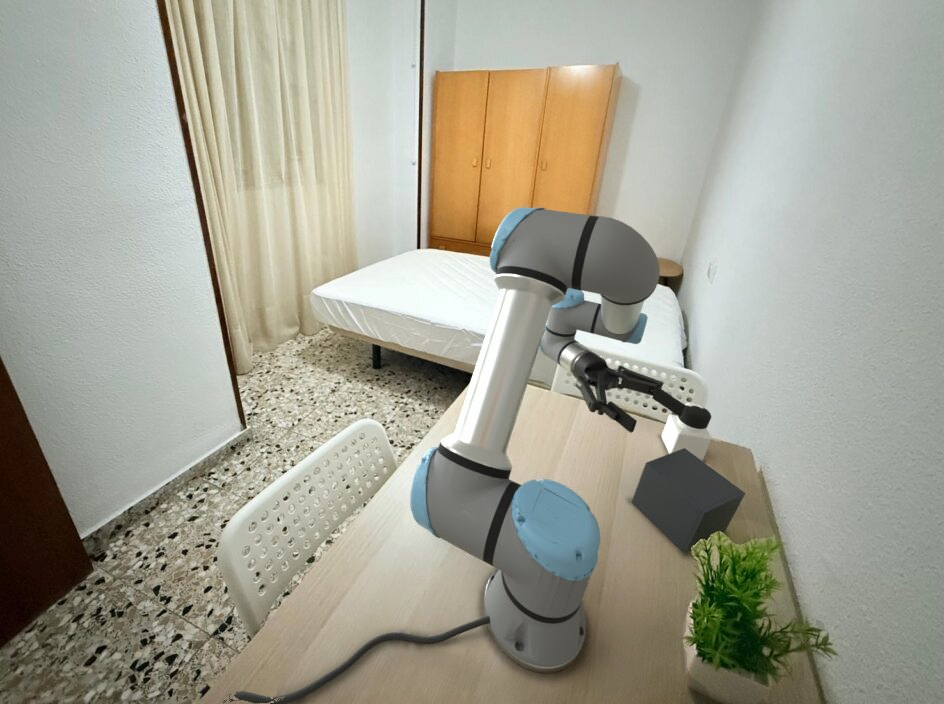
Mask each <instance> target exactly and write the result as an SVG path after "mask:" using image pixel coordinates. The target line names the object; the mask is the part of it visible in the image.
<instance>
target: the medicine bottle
mask: <svg viewBox="0 0 944 704" xmlns="http://www.w3.org/2000/svg"><path fill="white" fill-rule="evenodd" d="M684 404H685V407H684V410H683V413H682V415H681V416H678V415H676V414H668V417H667V420H666V422H665V425H664V429H663V430H662V433H661V435H660V436H661V439H662V441H663V443H664V446H665V448H666V450H667V453H668V454H670V453H673V452H676V451H678V450H681V449H683V448H685V449H687V450H688V451H689V452H691V453H692V454H693V455H695V456H696V457H697V458H699V459H700V460H702V461H703V462H704V459H705V457H706V454H707V453H708V450H709V448H710V446H711V443H712V441H713V437H712V435H711V434H710V432H709V431H708V429H707V428H708V427H709V424H710V421H711V419H712V414H711V412H710V411H709V410H708V409H707V408H705V407H704V406H702V405H700V404H697V403H692V402H686V403H684Z"/></svg>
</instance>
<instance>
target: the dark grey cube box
mask: <svg viewBox="0 0 944 704" xmlns="http://www.w3.org/2000/svg"><path fill="white" fill-rule="evenodd" d="M746 494H747V493H746V492H745V491H744V490H742V489H741V488H739V487H738V486H737V485H735V484H734V483H733V482H731V481H730V480H729V479H727V478H726V477H724V476H723V474H721V473H719V472H718V471H716V469H714V468H712V467H711V466H710V465H708V464H707V463H706V462H704V460H703V461H702V460H700V459H699V458H697V457H696V456H695V455H693V454H692V453H691V452H689V451H688V450H687V449H685V448H683V449H681V450H678V451H676V452H673V453H670V454H669V453H668V454H665V455H662V456H660V457H657V458H654V459H651V460H649V461H646V462H645V465H644V467H643V470H642V473H641V475H640V478H639V481H638V484H637V486H636V489H635V491H634V494H633V497H632V500H631V504H633V506H634V507H636V509H638V510H639V511H640V512H641V513H642V514H643V516H645V518H646V519H648V520H649V521H650V522H651V523H652V524H653V525H654V526H655V527H656V528H657V529H658V530H659V531H660V532H661V534H663V535H664V536H665V537H666V538H667V539H668V540H669V541H670V542H671V543H672V544H673V545H674V546H675V547H677V549H678V550H679V551H680V552H681V553H682V554H683V555H687V554H688V553H691V552H692V551H693V550H691V547H692V546H693V545H695V544H696V543H697V542H698V541H699V540H700V539H705V540H708V538H709V537H710V535H711V534H713V533H715V532H717V531H721V532H723V533H724V534H725V533H726V531H727V530H728V527H729V525H730V523H731V521H732V519H733V518H734V517H735V514H736V512H737V511H738V508H739V507H740V505H741V503H742V501H743V499H744V498H745V495H746Z"/></svg>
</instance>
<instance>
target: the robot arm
mask: <svg viewBox="0 0 944 704" xmlns="http://www.w3.org/2000/svg"><path fill="white" fill-rule="evenodd" d="M490 248H491V251H490V253H489V267H490V269H491V270H492V272H494V273H495V274H494V278H493V281H494V282H495V284H496V286H497V288H498V291H499V293H498V296H497V299H496V301H495V305H494V308H493V310H492V314H491V317H490V320H489V322H488V323H489V324H488V326H487V329H486V332H485V335H484V339H483V342H482V345H481V348H480V350H479V354H478V357H477V359H476V363H475V365H474V369H473V372H472V376H471V377H470V381H469V384H468V388H467V389H466V390H467V391H466V394H465V396H464V399H463V403H462V406H461V409H460V412H459V415H458V418H457V422H456V424H455V427H454V430H453V432H452V433H451V434H448V435H446V436H444V437H442V438H441V439H440V442H439V444H438V446H434V447H430V448H428V449H427V450H426V451H425V453H423V456H422V457H421V461H420V463H419V464H418V465H417V467H416V470H415V472H414V475H413V479H412V483H411V489H410V499H409V501H410V502H409V503H410V511H411V514H412V517H413V519H414V521H415V523H417V524H418V526H421V527H422V528H424V529H425V530H426V531H428V532H430V533H431V534H432V536H434V537H435V538H438V539H442V541H445V542H447V543H449V544H451V545H453V546H454V547H456V548H458V549H460V550H462V551H463V552H465V553H467V554H469V555H471V556H473V557H475V558H476V559H477V560H480V561H482V562H484V563H485V564H488V565H489V566H491V567H493V568H495V570H494V571H493V572H492V573H491V575H490V577H489V579H488V581H487V583H486V586H485V591H484V598H483V617H480V618H478V619H475V620H473V621H469V622H466V623H464V624H462V625H459V626H457V627H455V628H452V629H450V630H448V631H445V632H444V633H440V634H438V635H437V634H436V635H432V636H420V635H415V634H411V633H405V632H395V631H394V632H388V633H383V634H381V635H378V636H376V637H373V638H372V639H371V640H369V641H367V642H366V643H365V644H364V645H362V646H361V647H360V648H359V649H358V650H357V651H356V652H354V653H353V654H352V655H351V656H350V657H349V658H347V660H345V661H344V662H343V663H342V664H340V665H338V666H337V667H336V668H334V669H333V670H331V671H330V672H328V673H326V674H325V675H323V676H322V677H319V678H318V679H316V680H315V681H313V682H311V683H310V684H308V685H306V686H305V687H302V688H301V689H298V690H296V691H293V692H290V693H287V694H283V695H280V696H279V695H278V696H272V697H273V699H271V698H270V697H271V696H267V695H261V694H257V693H254V692H251V691H250V692H249V691H244V690H243V691H242V690H239V692H238V691H235V692H236V694H235V695H234V696H235V697H236V698H238V699H239V700H238V701H242V700H244V702H247V701H248V703H251V704H256V703H257V704H258V703H269V702H271V701H274V703H270V704H288V703H289V704H290V703H292V702H294V701H297V700H300V699H302V698H304V697H306V696H308V695H310V694H311V693H313V692H315V691H316V690H318V689H320V688H321V687H323V686H324V685H326V684H328V683H329V682H331V681H332V680H334V679H335V678H337V677H338V676H340V675H342V674H343V673H344V672H346V671H347V670H348V669H349V668H350V667H352V666H353V665H354V664H355V663H357V662H358V660H359V659H360V658H361V657H363V655H365V654H366V653H367V652H369V650H371V649H373V648H374V647H376V646H377V645H379V644H382V643H384V642H388V641H403V642H409V643H414V644H418V645H419V644H420V645H433V644H439V643H443V642H445V641H447V640H450V639H452V638H454V637H457V636H459V635H460V634H462V633H463V634H464V633H466V632H468V631H471V630H473V629H476V628H479V627H482V626H485V625H486V627H487V630H488V632H489V634H490V636H491V638H492V639H493V641H494V643H495V645H496V646H497V647H498V648H499V650H500V651H501V652H502V653H503V654H504V655H505V656H506V657H507V658H508V659H509V660H510V661H512V662H514V663H515V664H516V665H518V666H519V667H522V668H524V669H526V670H528V671H532V672H535V673H541V674H551V673H556V672H557V673H558V672H560V671H563V670H565V669H566V668H567V667H569V666H570V665H571V664H572V663H574V661H575V660H576V659H577V657H578V656H579V654H580V653H581V651H582V648H583V644H584V641H585V638H586V633H587V632H586V631H587V618H586V612H585V606H584V601H583V600H584V597H585V594H586V591H587V587H588V584H589V582H590V578H591V575H592V574H593V573H594V571H595V570H596V567H597V564H598V559H599V549H600V546H601V545H600V544H601V531H600V526H599V523H598V520H597V518H596V516H595V514H594V513H592V511H591V509H590V506H589V505H588V503H586V501H585V500H584V499H583V498H582V496H581V495H579V494H578V493H577V492H575V491H574V490H573V489H571V488H570V487H568V486H567V485H564V484H562V483H560V482H558V481H555V480H552V479H547V478H540V479H539V480H537V479H530V480H527V481H526V482H524V483H523V484H520V483H518V482H515V481H514V480H511V479H510V476H511V473H512V470H513V464H512V462H511V460H510V458H509V456H508V453H507V451H508V448H509V444H510V441H511V438H512V435H513V433H514V428H515V425H516V422H517V419H518V416H519V412H520V409H521V406H522V404H523V400H524V396H525V393H526V390H527V387H528V383H529V380H530V377H531V375H532V371H533V368H534V364H535V361H536V358H537V355H538V352H539V350H540V351H541V352H542V354H543V355H545V356H546V357H548V358H549V359H551V360H552V361H553V362H555V363H556V364H558V365H559V366H560V367H561V368H563V369H564V371H567V372H568V373H569V374H570V375H572V376H573V377H574V379H576V381H575V387H576V389H577V390H579V391H580V393H581V395H582V398H583V400H584V403H585V404H586V407H587V409H588V411H589V412H590V413H596V411H597V414H598V415H599V416H604V414H605V415H606V416H607V417H608V418H609V419H611V420H613V421H615V422H616V423H618V424H619V425H620V426H621V427H623V428H624V429H625V430H626V431H627V432H629V433H630V434H632V433H634V430H635V428H636V426H637V422H638V421H637V419H635V418H634V417H633V416H631V414H629V413H627V411H625V410H624V409H622V408H620V406H618V404H616V403H615V402H613V401H612V400H610V401H608V400H607V392H606V391H610V390H613V389H619V390H624V389H626V390H630V391H634V392H637V393H641V394H645V395H649V396H652V400H654V401H656V402H657V403H659V404H660V405H661V406H662V407H665V408H666V409H667V410H668V411H670V412H672V413H673V414H674V415H677V416H681V415H682V413H683V410H684V407H685V404H686V403H683V402H681V401H680V400H678V399H677V398H676V397H674V396H672V395H671V393H670V394H669V392H667V391H665V390H664V389H662V388H663V386H664V382H663V381H661V380H659V379H655V378H653V377H650V376H647V375H644V374H642V373H639V372H637V371H634V370H631V369H629V368H627V367H625V366H624V365H618V367H617V369H614V368H610V367H609V365H608V364H607V361H606V360H605V359H604V358H603V357H601V356H600V355H599V354H597V353H596V352H593V350H592V349H590V348H588V347H586V346H585V345H583V344H582V343H580V342H579V341H577V340H576V339H575V338H576V334H577V331H580V332H583V333H589V334H592V335H597V336H601V337H604V338H608V339H612V340H615V341H616V340H617V341H619V342H621V343H628V344H633V345H638V344H640V343H641V342H642V339H643V336H644V333H645V329H646V326H647V324H648V315H647V314H646V313H644V312H642V309H643V307H644V303H645V302H646V300H647V299H649V298H650V297H651V296H652V294H653V293H654V292H655V290H656V288H657V286H658V283H659V280H660V276H661V267H660V262H659V259H658V257H657V254H656V252H655V249H653V247H652V246H651V244H650V243H649V242H648V240H646V239H645V237H644V236H643V235H642V234H640V232H638V231H637V230H636V229H634V228H633V227H632V226H631V225H628V224H627V223H625V222H623V221H621V220H619V219H616V218H612V217H610V216H602V215H600V216H598V215H592V214H584V213H576V212H568V211H563V210H560V211H559V210H553V209H546V208H545V207H540V206H539V207H525V206H523V207H521V206H520V207H517V208H514V209H513V210H512V211H510V212H508V213H507V215H505V216H504V218H503V219H502V221H501V222H500V224H499V226H498V228H497V230H496V232H495V235H494V237H493V240H492V243H491V247H490ZM584 292H588V293H593V294H597V295H600V303H599V302H594V301H590V300H586V299H585V293H584ZM620 380H621V381H620ZM592 387H593V388H594V391H595V393H594V391H593V389H592ZM232 693H233V692H232ZM232 693H230V694H228V695H229V697H230V695H231V694H232ZM266 696H267V697H266ZM284 696H285V697H284ZM278 697H281V698H282V697H284V698H282V699H283V700H282V699H281V698H278ZM276 698H278V700H279V699H280V700H279V701H278V700H277V699H276ZM229 699H230V698H229ZM274 699H276V700H277V702H276V701H275V700H274ZM223 700H224V699H223ZM223 700H222V703H223V704H224V703H225V702H226V701H227V700H226V701H225V700H224V701H225V702H224V701H223ZM230 700H231V701H230ZM230 700H229V701H230V703H232V702H235V701H237V700H233V699H230Z"/></svg>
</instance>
